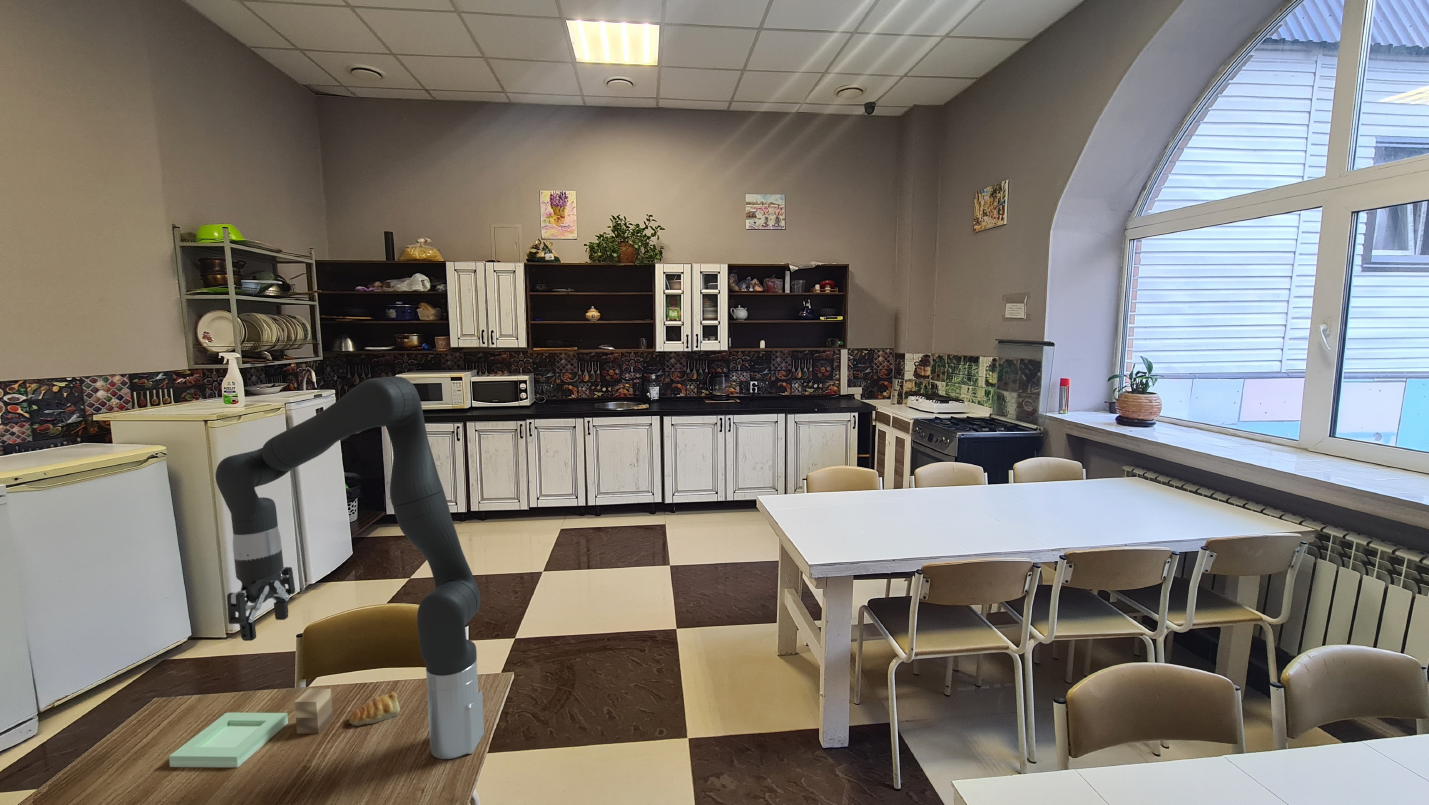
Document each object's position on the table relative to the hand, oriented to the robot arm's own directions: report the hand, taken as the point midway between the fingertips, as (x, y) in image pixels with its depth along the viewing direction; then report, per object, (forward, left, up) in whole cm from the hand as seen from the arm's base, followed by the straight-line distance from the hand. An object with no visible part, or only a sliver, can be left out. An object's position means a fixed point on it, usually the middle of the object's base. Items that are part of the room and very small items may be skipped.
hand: (266, 629), depth 117 cm
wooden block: (-6, -3, -23) cm, 24 cm away
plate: (+7, +2, -23) cm, 24 cm away
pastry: (-17, -7, -24) cm, 30 cm away
